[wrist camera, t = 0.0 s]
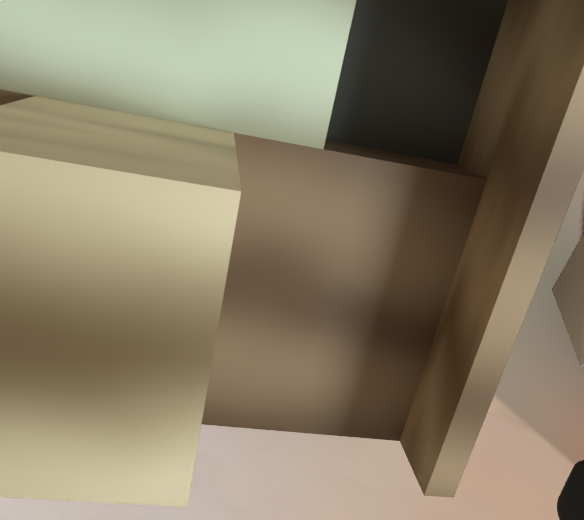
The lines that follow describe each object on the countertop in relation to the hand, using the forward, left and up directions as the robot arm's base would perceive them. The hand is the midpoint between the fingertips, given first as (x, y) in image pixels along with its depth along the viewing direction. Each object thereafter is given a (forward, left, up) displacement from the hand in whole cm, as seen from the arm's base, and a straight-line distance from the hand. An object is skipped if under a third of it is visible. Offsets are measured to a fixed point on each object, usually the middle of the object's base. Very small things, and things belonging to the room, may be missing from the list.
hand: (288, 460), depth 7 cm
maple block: (-1, +4, -12) cm, 12 cm away
